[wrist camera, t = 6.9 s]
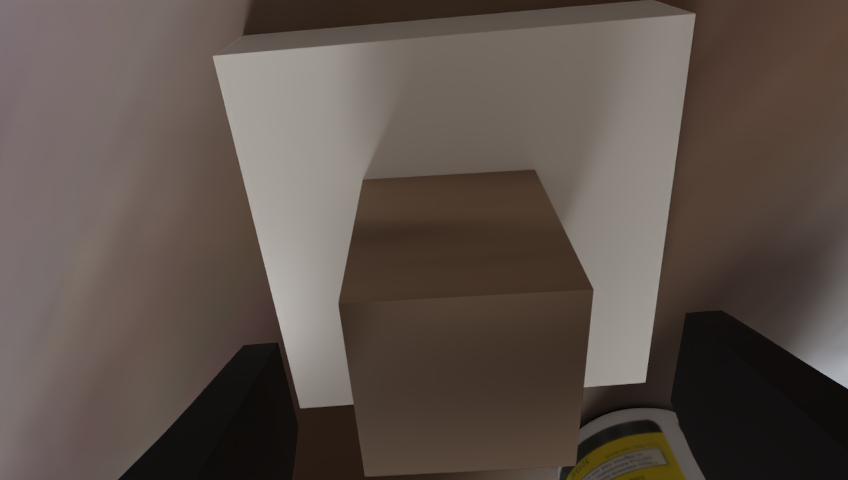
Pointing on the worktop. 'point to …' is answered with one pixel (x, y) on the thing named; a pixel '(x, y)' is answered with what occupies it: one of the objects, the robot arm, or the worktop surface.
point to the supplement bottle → (633, 448)
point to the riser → (463, 151)
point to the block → (464, 325)
